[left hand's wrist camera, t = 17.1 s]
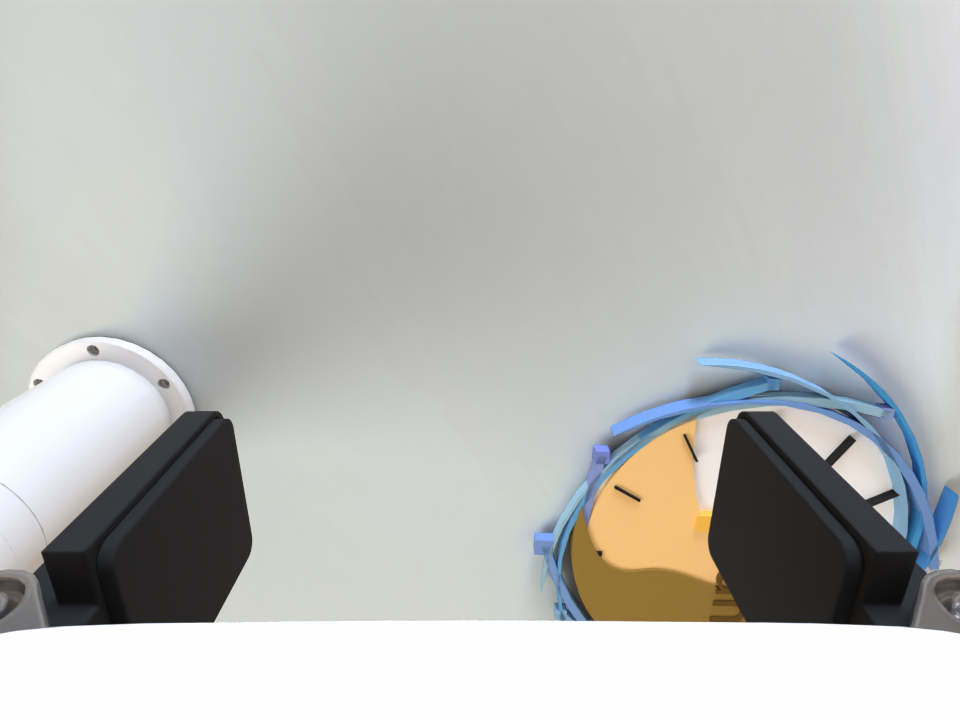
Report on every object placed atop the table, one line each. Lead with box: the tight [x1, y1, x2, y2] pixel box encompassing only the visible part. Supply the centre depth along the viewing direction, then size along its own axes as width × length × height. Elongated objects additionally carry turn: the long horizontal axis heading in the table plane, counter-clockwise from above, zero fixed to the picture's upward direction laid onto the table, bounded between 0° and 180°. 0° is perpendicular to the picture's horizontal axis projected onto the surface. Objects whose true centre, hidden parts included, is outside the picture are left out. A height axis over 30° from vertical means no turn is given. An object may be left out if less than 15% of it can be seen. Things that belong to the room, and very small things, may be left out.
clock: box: [534, 352, 958, 623], centre depth 51 cm, size 34×35×2 cm
